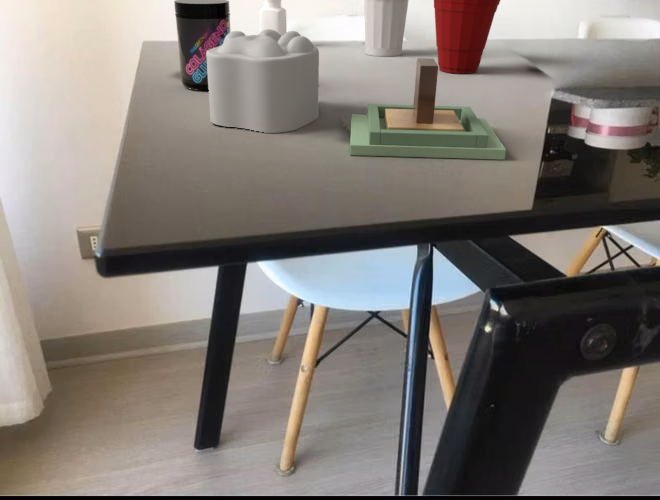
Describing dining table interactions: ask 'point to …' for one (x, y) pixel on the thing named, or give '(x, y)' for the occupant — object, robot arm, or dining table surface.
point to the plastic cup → (462, 32)
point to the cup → (384, 26)
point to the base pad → (424, 137)
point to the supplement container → (199, 36)
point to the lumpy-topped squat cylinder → (263, 81)
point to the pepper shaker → (272, 17)
